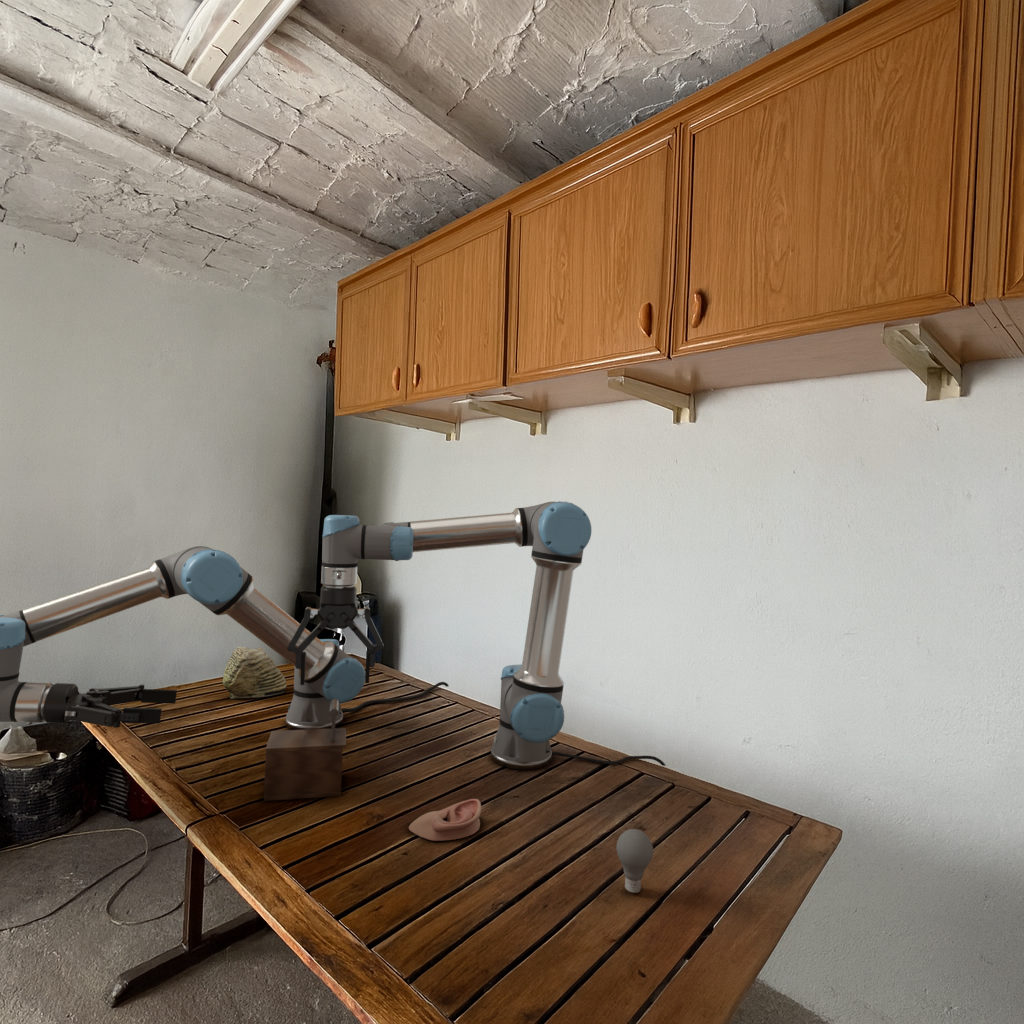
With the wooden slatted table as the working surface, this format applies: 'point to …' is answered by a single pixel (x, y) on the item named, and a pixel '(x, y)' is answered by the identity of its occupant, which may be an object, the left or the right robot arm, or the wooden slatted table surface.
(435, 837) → the anatomical model
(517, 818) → the wooden slatted table surface
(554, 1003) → the wooden slatted table surface
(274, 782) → the chest
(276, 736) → the lid
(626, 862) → the light bulb
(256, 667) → the fossil
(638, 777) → the wooden slatted table surface
